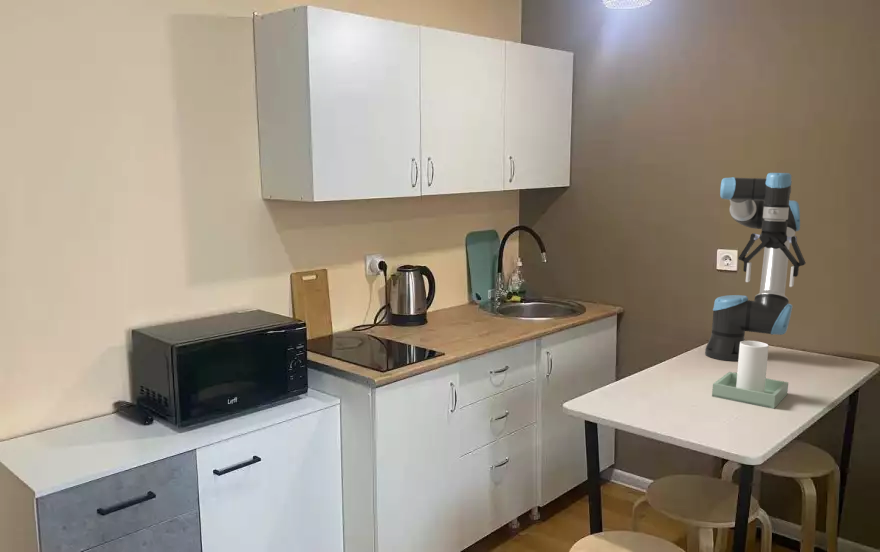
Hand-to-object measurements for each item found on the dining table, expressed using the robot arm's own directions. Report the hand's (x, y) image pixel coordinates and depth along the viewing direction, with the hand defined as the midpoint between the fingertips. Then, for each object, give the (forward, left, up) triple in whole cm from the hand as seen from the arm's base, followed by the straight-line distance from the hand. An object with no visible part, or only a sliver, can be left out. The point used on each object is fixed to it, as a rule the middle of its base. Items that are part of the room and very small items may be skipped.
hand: (769, 284), depth 240 cm
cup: (+22, +2, -32) cm, 39 cm away
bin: (+22, +2, -33) cm, 39 cm away
